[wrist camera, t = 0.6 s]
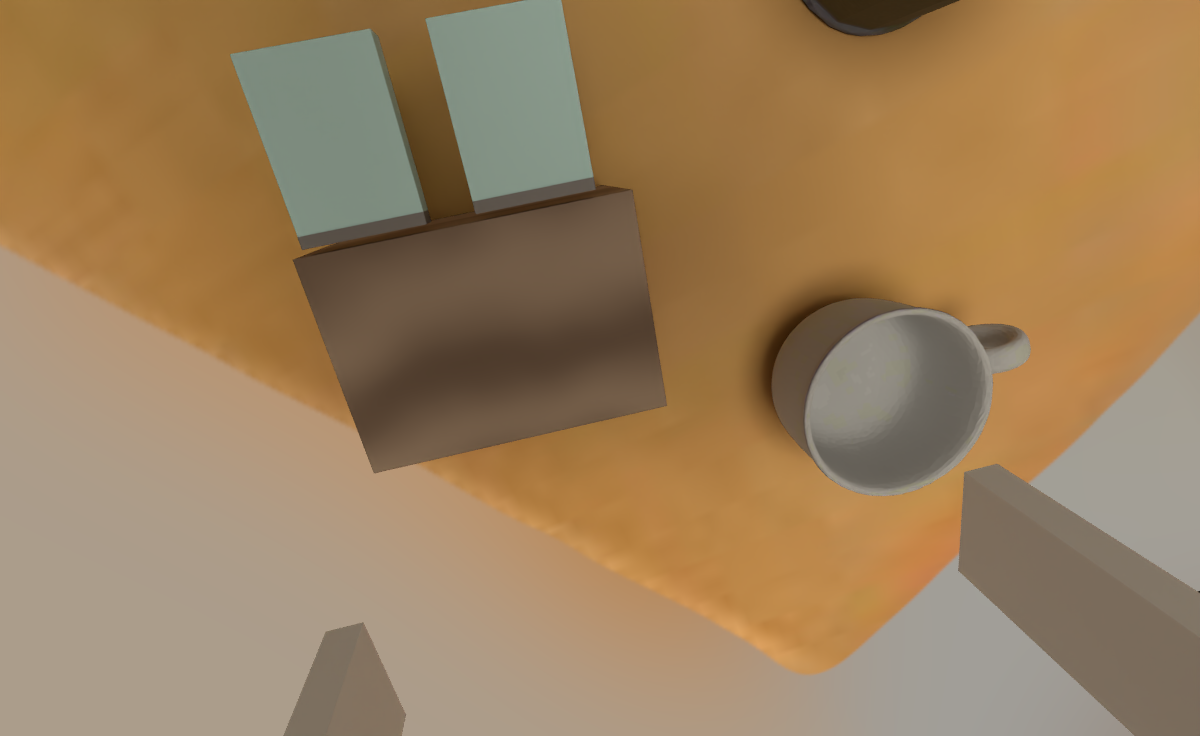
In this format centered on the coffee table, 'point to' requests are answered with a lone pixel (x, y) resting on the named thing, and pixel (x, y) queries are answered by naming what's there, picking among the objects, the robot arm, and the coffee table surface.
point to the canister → (872, 14)
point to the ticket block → (489, 326)
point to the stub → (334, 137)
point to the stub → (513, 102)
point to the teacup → (889, 390)
